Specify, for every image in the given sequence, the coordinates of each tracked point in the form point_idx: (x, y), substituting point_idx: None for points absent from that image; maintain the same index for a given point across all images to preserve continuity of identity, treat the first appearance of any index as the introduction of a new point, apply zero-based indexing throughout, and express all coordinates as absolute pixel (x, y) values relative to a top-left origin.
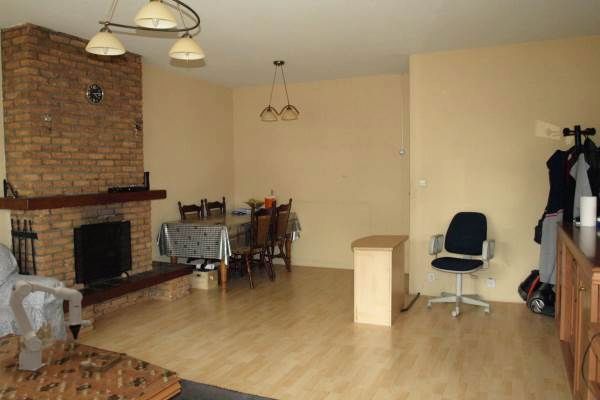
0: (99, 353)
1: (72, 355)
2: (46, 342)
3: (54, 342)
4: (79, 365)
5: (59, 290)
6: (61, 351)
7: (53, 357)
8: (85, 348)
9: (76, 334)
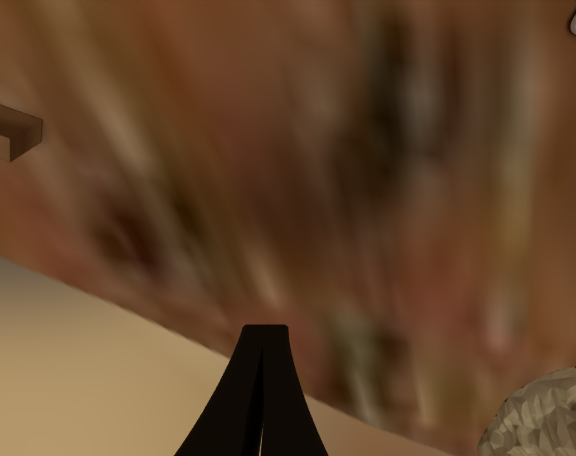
0: None
1: (323, 241)
2: (558, 427)
3: (486, 440)
4: None
5: None
6: (428, 325)
7: (485, 224)
8: None
9: (224, 397)
